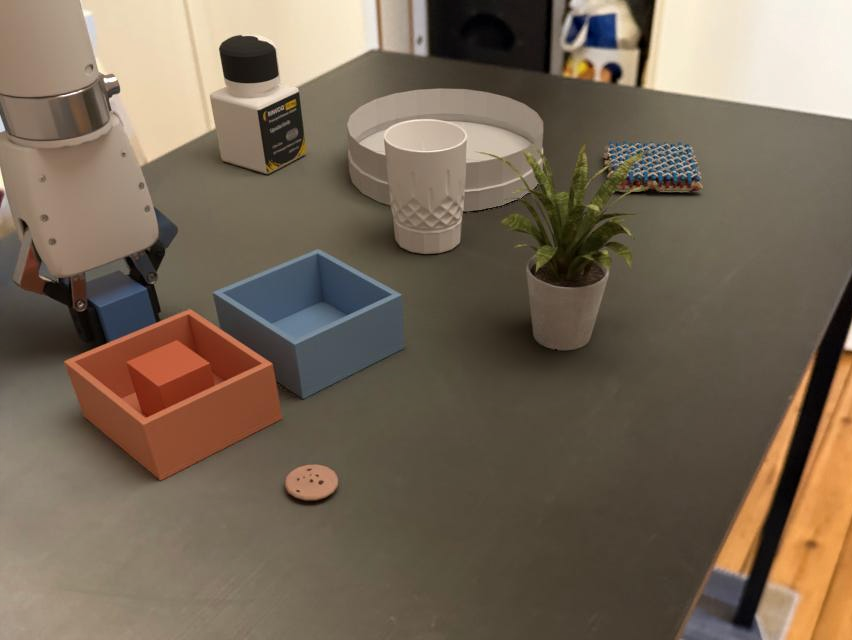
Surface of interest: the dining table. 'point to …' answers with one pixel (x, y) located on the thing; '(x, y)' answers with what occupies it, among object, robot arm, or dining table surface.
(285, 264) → the blue bin
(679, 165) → the woven mat
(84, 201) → the robot arm
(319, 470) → the cookie
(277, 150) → the medicine bottle
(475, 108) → the dish
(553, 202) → the house plant
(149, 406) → the terracotta block
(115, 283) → the blue block
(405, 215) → the white cup
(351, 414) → the dining table surface
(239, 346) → the terracotta bin
